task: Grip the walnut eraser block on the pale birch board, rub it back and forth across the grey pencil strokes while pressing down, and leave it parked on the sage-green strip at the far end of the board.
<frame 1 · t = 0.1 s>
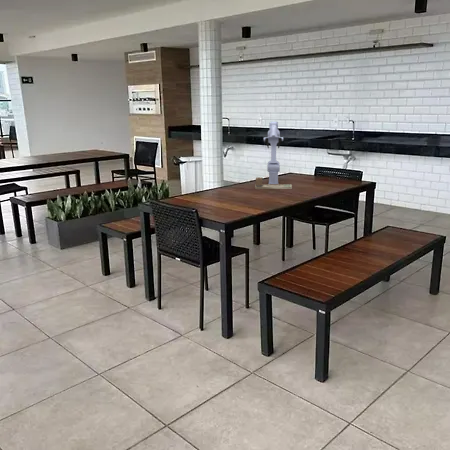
hand: (273, 147, 352), 32 cm above the table, fingers open, 7 cm apart
birch board: (273, 187, 368), on the table
eraser block: (259, 185, 369), point 1 cm above the table, touching birch board
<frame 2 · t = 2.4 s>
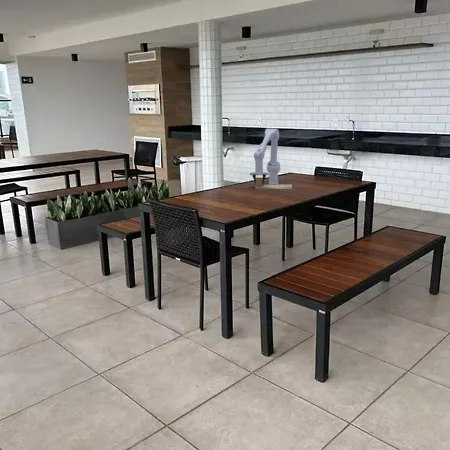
hand: (259, 184, 368), 3 cm above the table, fingers closed on eraser block, 5 cm apart
eraser block: (259, 185, 369), point 1 cm above the table, touching birch board, gripper
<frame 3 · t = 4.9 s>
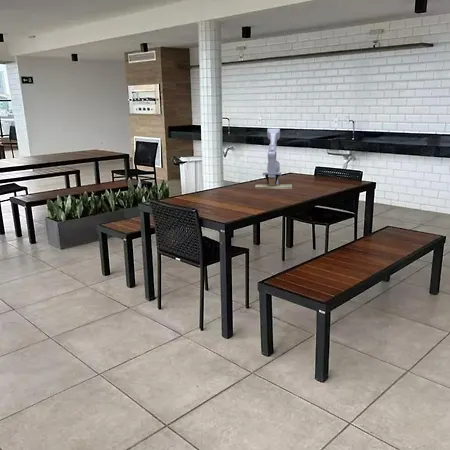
hand: (272, 184, 367), 2 cm above the table, fingers closed on eraser block, 5 cm apart
eraser block: (271, 185, 368), point 2 cm above the table, touching gripper
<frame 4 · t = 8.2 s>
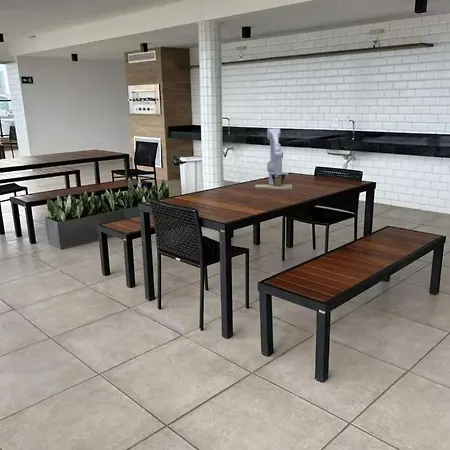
hand: (278, 184, 367), 2 cm above the table, fingers closed on eraser block, 5 cm apart
eraser block: (278, 185, 367), point 2 cm above the table, touching gripper
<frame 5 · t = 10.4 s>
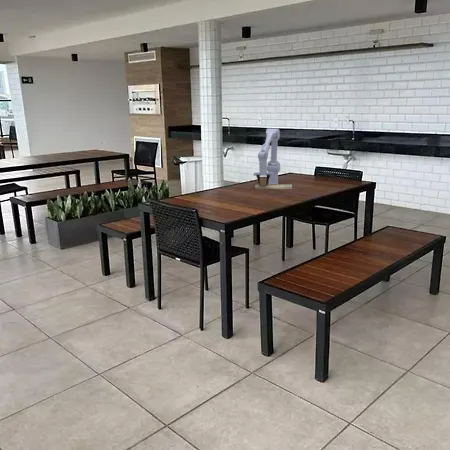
hand: (263, 184, 368), 2 cm above the table, fingers closed on eraser block, 5 cm apart
eraser block: (263, 185, 368), point 2 cm above the table, touching gripper
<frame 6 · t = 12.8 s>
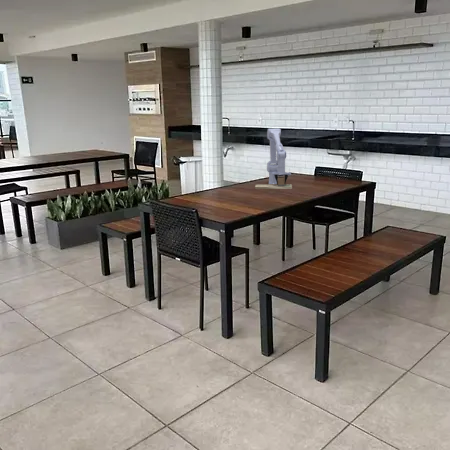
hand: (281, 184, 367), 2 cm above the table, fingers closed on eraser block, 5 cm apart
eraser block: (281, 185, 367), point 2 cm above the table, touching gripper
when the fingers open (3 cm above the table, at t = 14.7 s): eraser block stays where it is, resting on birch board.
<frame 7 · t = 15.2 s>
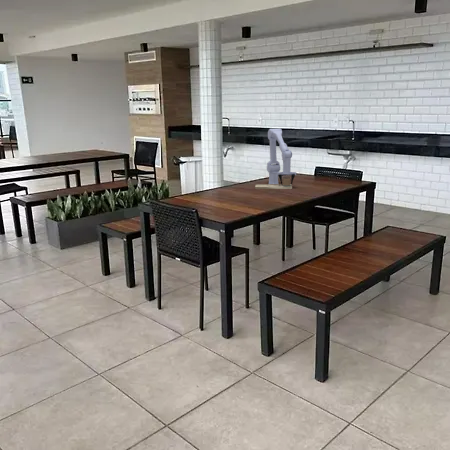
hand: (286, 184, 366), 3 cm above the table, fingers open, 7 cm apart
eraser block: (286, 185, 366), point 2 cm above the table, touching birch board
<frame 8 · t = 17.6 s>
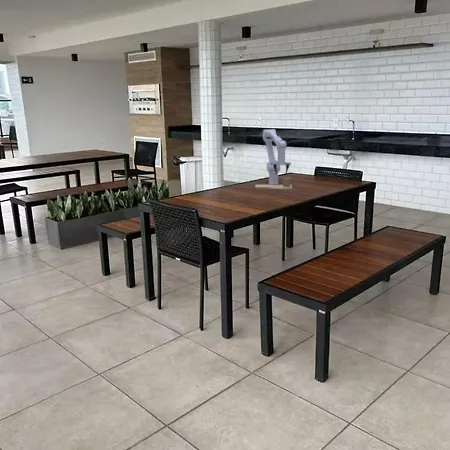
hand: (281, 174, 371), 9 cm above the table, fingers open, 7 cm apart
nothing on the table moved.
at the end: eraser block inside the target area (0.5 cm from its centre), point 1.5 cm above the table; eraser block tilted 0°; the gripper is holding nothing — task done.
